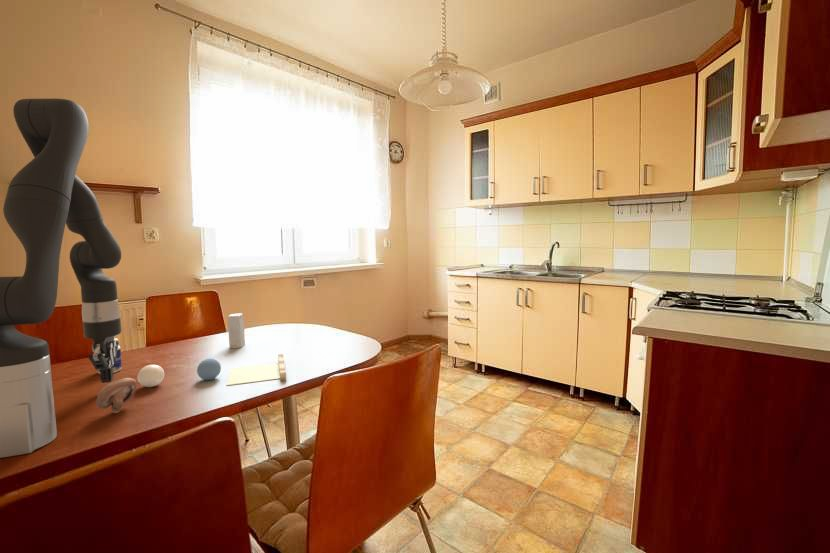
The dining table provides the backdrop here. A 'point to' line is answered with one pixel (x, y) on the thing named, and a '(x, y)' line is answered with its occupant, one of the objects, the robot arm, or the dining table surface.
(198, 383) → the dining table surface
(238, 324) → the skincare box
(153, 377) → the cue ball
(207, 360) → the blue ball
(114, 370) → the pill bottle
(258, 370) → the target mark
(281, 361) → the stopper strip
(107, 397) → the mushroom
